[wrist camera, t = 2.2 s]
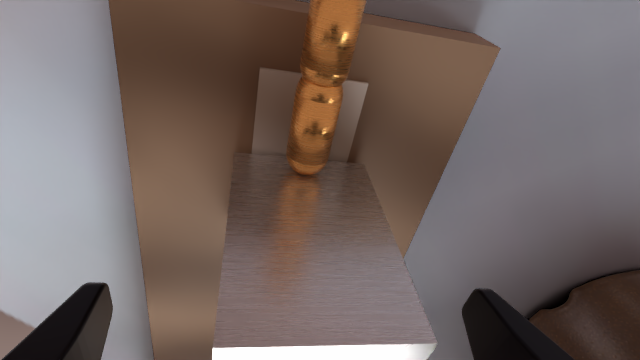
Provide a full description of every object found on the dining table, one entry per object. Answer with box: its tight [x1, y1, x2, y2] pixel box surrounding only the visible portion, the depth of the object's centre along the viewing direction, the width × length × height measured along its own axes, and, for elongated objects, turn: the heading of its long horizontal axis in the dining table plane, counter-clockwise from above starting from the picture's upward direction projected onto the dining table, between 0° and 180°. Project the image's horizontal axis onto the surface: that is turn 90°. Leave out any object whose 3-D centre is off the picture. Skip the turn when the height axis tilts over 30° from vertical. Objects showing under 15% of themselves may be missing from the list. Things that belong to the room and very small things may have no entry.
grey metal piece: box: [212, 0, 438, 360], centre depth 8 cm, size 8×4×6 cm, turn 169°
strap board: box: [109, 0, 500, 360], centre depth 16 cm, size 21×10×2 cm, turn 169°
